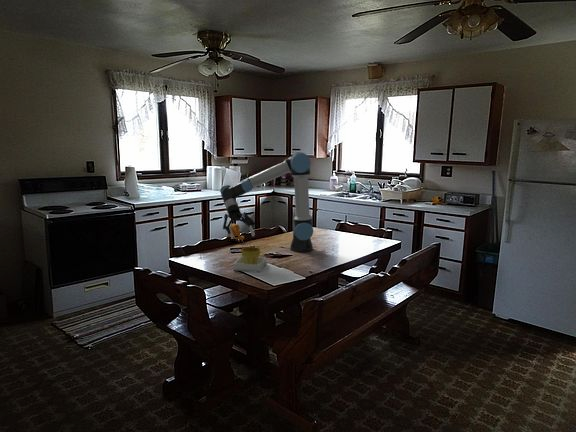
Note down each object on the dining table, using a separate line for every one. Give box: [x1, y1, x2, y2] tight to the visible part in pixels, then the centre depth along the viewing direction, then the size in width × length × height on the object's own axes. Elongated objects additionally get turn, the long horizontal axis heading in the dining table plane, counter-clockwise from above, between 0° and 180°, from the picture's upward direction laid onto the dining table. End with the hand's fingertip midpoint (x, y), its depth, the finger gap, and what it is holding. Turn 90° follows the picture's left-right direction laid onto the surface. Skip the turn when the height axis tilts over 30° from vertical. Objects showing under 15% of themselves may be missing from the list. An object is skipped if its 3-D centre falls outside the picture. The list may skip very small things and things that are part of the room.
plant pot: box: [241, 246, 261, 265], centre depth 230 cm, size 10×10×10 cm
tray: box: [232, 255, 267, 273], centre depth 230 cm, size 16×16×4 cm
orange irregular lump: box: [226, 223, 245, 242], centre depth 292 cm, size 11×7×12 cm, turn 130°
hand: (243, 236), depth 235 cm, fingers open, 13 cm apart
